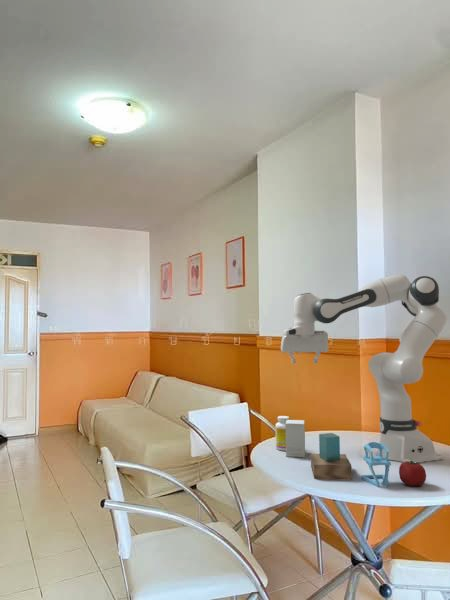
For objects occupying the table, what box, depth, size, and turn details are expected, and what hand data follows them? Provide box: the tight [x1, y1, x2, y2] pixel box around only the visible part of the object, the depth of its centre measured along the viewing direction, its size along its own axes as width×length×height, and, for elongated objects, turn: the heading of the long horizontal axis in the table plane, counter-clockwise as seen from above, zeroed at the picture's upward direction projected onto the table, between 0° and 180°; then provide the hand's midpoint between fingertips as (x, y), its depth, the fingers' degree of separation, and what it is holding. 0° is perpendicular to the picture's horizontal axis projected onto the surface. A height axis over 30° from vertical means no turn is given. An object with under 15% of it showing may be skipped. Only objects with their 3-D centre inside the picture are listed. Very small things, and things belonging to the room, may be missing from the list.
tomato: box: [398, 461, 427, 487], centre depth 134 cm, size 8×8×7 cm
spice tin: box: [318, 432, 341, 462], centre depth 146 cm, size 5×5×8 cm
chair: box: [360, 441, 392, 488], centre depth 137 cm, size 8×8×12 cm
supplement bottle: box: [274, 415, 290, 452], centre depth 175 cm, size 7×7×13 cm
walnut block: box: [310, 453, 353, 481], centre depth 146 cm, size 12×12×5 cm
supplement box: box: [285, 419, 306, 458], centre depth 167 cm, size 7×7×13 cm
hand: (304, 363), depth 184 cm, fingers open, 8 cm apart
